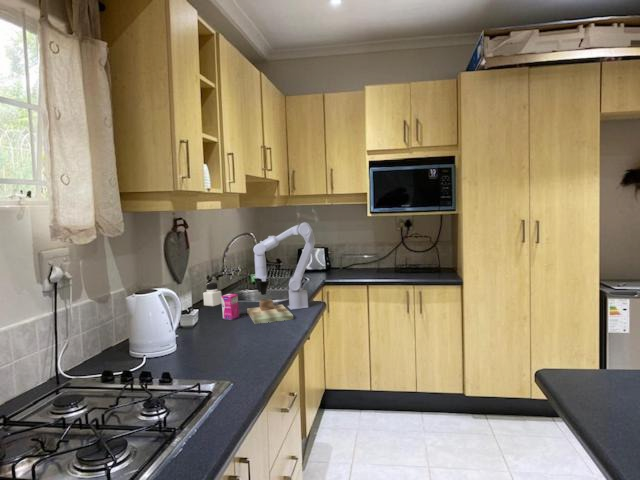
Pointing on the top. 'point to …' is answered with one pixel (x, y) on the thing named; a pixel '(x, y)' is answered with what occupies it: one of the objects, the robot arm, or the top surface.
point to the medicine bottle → (212, 295)
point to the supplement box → (230, 306)
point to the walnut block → (266, 304)
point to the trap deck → (269, 314)
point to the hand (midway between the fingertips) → (262, 293)
